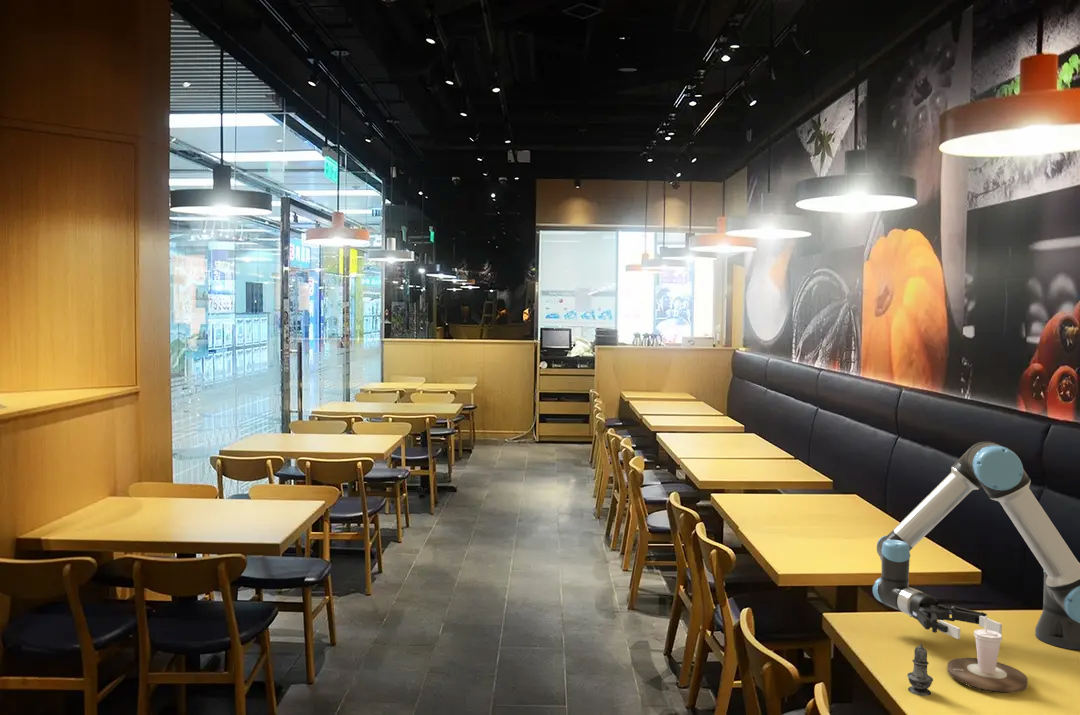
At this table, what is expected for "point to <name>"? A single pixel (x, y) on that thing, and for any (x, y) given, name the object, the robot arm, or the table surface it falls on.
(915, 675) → the salt shaker
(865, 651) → the table surface
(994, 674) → the turntable
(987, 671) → the smoothie
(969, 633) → the table surface
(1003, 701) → the table surface
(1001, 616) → the table surface
